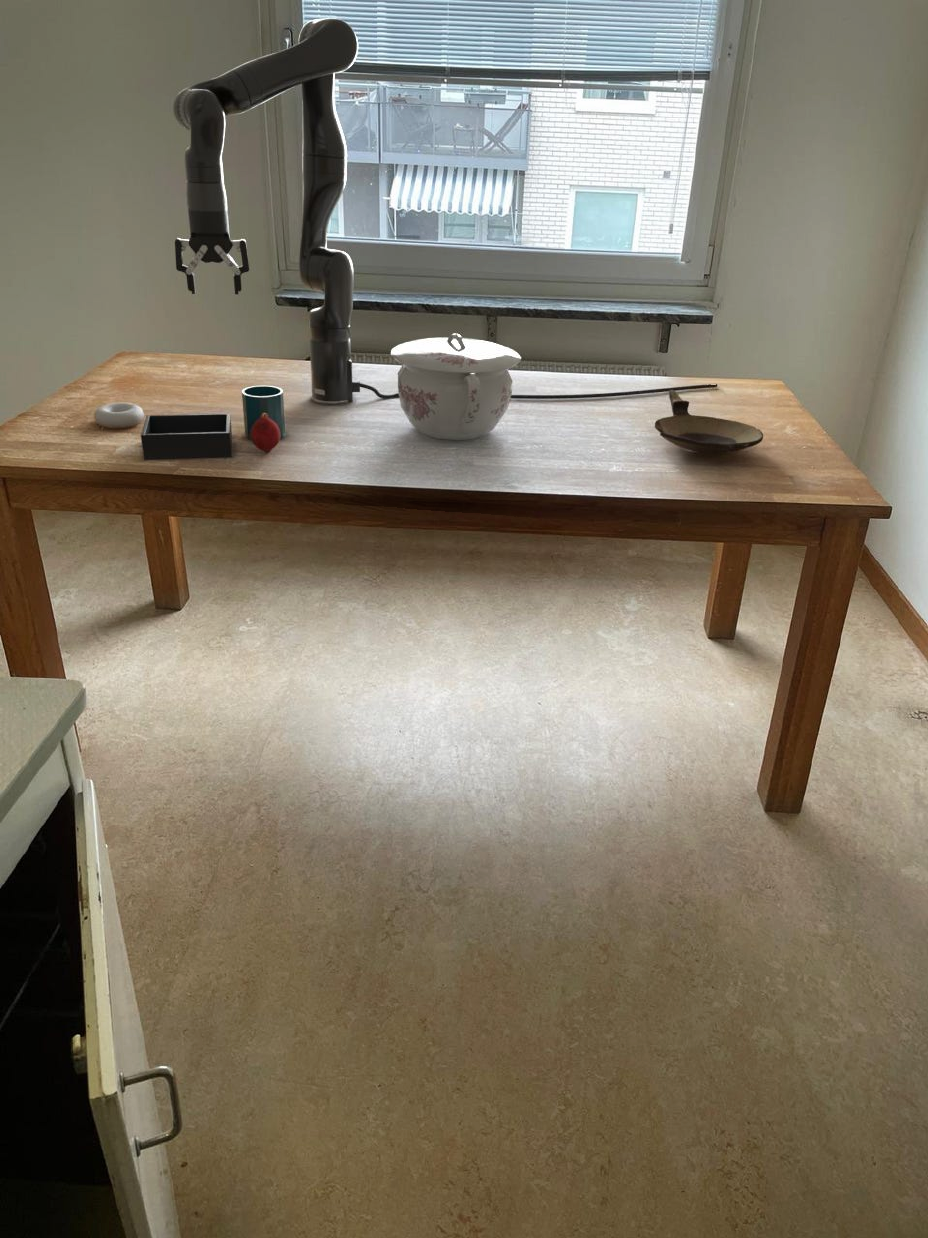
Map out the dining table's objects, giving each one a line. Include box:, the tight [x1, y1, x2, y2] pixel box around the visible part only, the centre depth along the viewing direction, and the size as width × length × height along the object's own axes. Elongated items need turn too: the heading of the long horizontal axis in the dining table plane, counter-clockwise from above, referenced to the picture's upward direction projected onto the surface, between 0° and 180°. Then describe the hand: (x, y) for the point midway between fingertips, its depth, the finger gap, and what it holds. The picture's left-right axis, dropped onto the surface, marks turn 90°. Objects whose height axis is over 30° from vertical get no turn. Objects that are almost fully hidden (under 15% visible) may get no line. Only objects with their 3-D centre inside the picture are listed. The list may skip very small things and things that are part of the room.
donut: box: [93, 402, 145, 429], centre depth 189 cm, size 10×3×10 cm
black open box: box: [140, 413, 233, 461], centre depth 178 cm, size 16×12×5 cm
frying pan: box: [654, 390, 764, 454], centre depth 192 cm, size 22×30×8 cm
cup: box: [241, 385, 286, 442], centre depth 185 cm, size 8×8×10 cm
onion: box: [251, 413, 281, 454], centre depth 176 cm, size 6×6×8 cm
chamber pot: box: [390, 332, 522, 441], centre depth 190 cm, size 28×28×21 cm
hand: (215, 293), depth 183 cm, fingers open, 8 cm apart
